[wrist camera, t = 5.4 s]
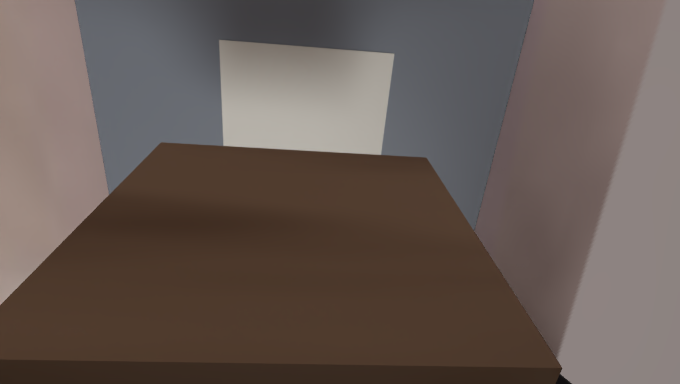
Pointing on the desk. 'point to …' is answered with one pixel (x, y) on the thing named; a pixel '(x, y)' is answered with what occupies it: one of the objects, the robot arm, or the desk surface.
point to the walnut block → (272, 280)
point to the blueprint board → (306, 79)
